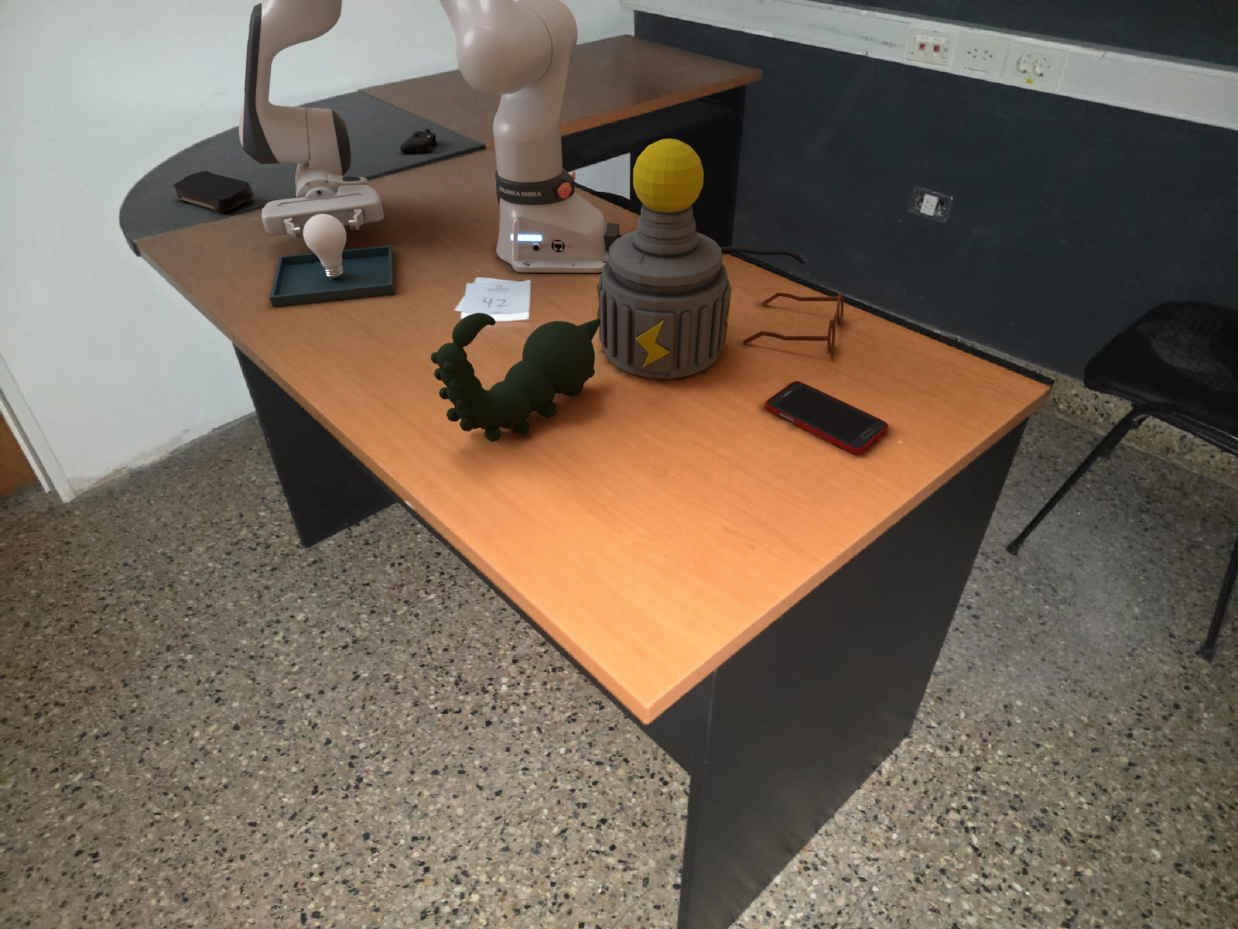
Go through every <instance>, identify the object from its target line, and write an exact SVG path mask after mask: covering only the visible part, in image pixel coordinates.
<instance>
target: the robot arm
mask: <svg viewBox="0 0 1238 929" xmlns="http://www.w3.org/2000/svg"><path fill="white" fill-rule="evenodd" d="M438 2H439V3H440V5H441V7H442V9H443V10H444V12H445V15H446V16H447V19H448V21H449V23H450V25H451V28H452V30H453V33H454V36H455V40H456V47H455V56H456V63H457V67H458V70H459V73H460V74H461V76H462V78H463V79H464V81H465V82H466V83H467V84H468V86H469V87H470V88H471V89H473V90H474V91H475V92H477V93H479V94H481V95H483V96H493V97H494V96H500V101H499V104H498V108H497V110H496V114H495V116H494V118H493V123H492V133H493V135H492V136H493V143H494V153H495V162H496V170H495V171H494V172H495V173H494V178H495V180H494V184H495V194H496V199H497V203H498V205H499V224H498V225H499V227H498V235H497V236H498V237H497V244H496V248H495V252H496V255H497V256H498V258H500V259H501V260H502V261H505V263H508V264H509V265H510V266H511V267H512V269H513V270H514V271H515V272H518V273H550V274H551V273H557V274H559V273H560V274H562V273H563V274H566V273H567V274H569V273H570V274H571V273H572V274H576V273H577V274H598V273H599V274H600V273H602V271H603V266H604V265H605V263H606V262H607V261H608V260H609V248H610V246H611V245H612V244H613V243H614V241H615V240H616V239H618V238H620V237H622V236H623V235H624V234H620V223H619V222H618V223H616V222H612V223H611V222H607V219H606V216H605V215H604V213H603V211H602V210H601V209H599V208H598V207H597V206H595V205H594V204H592V203H591V202H589V201H588V200H587V199H586V198H584V197H583V196H581V195H580V194H579V193H577V192H576V190H575V181H576V179H577V178H576V171H573V172H572V173H571V174H570V173H569V172H568V171H567V170H566V169H565V167H563V151H562V115H563V114H562V113H563V105H564V99H565V91H566V85H567V79H568V74H569V73H568V72H569V67H570V62H571V59H572V56H573V53H574V51H575V49H576V46H577V43H578V36H579V34H578V33H579V32H578V31H579V30H578V25H577V22H576V18H575V16H574V14H573V12H572V11H571V9H570V8H569V7H568V5H566V4H565V3H564V2H563V1H561V0H518V1H514V0H438ZM342 6H343V0H262V2H259V3H257V4H255V5H254V6H253V8H252V11H251V14H250V17H249V24H248V36H247V42H246V43H247V45H246V53H245V55H246V57H245V72H244V89H243V91H244V94H243V95H244V97H243V105H242V110H241V113H240V117H239V122H238V136H239V142H240V144H241V147H242V150H243V151H244V153H246V155H248V156H249V157H250V158H252V159H253V160H254V161H256V162H257V163H258V164H260V165H271V164H272V165H273V164H274V165H277V164H278V165H279V164H297V165H296V170H295V175H294V185H295V197H292V198H284V199H276V200H272V201H269V202H267V203H266V204H265V205H264V207H263V208H261V216H260V217H261V222H262V224H263V228H264V231H265V233H266V234H267V235H270V236H280V235H287V234H288V235H290V236H292V238H293V239H300V238H304V236H303V230H304V226H305V224H306V222H307V221H308V220H309V219H310V218H311V217H313V216H315V215H318V214H327V215H331V216H333V217H335V218H336V219H338V220H339V221H340V222H341V223H342V225H343V227H347V226H349V228H350V232H351V231H352V232H353V231H359V230H360V226H362V225H363V224H368V223H377V222H381V221H383V220H384V219H385V214H384V210H383V205H382V201H381V197H380V195H379V193H378V192H377V191H376V189H375V188H374V187H373V186H372V185H370V184H369V182H368V179H367V178H366V177H364V176H348V175H347V176H346V174H347V173H348V171H349V169H350V168H351V165H352V164H351V163H352V150H351V143H350V136H349V134H348V128H347V125H346V122H345V121H344V120H343V118H342V117H341V116H340V114H338V113H337V112H336V110H334V109H332V108H331V109H330V108H322V107H310V106H306V107H303V106H302V107H301V106H289V105H277V104H273V103H272V102H270V88H271V87H270V86H271V75H272V66H273V65H272V64H273V61H274V59H275V57H276V56H277V55H278V54H279V53H280V52H282V51H283V50H285V49H288V48H290V47H292V46H296V45H299V44H303V43H306V42H309V41H313V40H316V39H318V38H320V37H323V36H324V35H325V34H327V33H329V32H330V31H331V30H332V29H333V28H334V27H335V26H336V25H337V24H338V22H339V20H340V18H341V16H342V8H343V7H342ZM719 247H720V248H721V251H722V253H724V252H725V253H727V252H731V253H732V252H733V253H743V254H744V253H745V254H751V255H760V256H761V255H762V256H775V255H777V256H779V255H783V256H789V257H791V258H793V259H795V260H796V261H797V262H798V263H799V264H803V265H805V264H807V261H806V260H805V259H804V258H803V257H802V256H801V255H800V254H798V253H797V252H795V251H792V250H788V249H759V248H751V247H743V246H719Z"/></svg>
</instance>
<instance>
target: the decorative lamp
mask: <svg viewBox="0 0 1238 929" xmlns="http://www.w3.org/2000/svg"><path fill="white" fill-rule="evenodd" d="M632 171H633V172H632V173H633V174H632V176H633V177H632V180H633V181H632V186H633V189H634V191H635V194H636V197H637V198H638V199H639V201H640V202H641V203H642V205H641V209H640V215H639V216H638V219H637V223H636V229H635V230H634V231H631V232H627V233H625V234H622V235H623V236H622V237H620V238H618V239H616V240H615V241H614V243H613V244H612V245H611V246H610V248H609V260H608V261H607V262H606V263H605V265H604V266H603V271H602V272H601V274H600V275H599V277H598V284H596V290H597V291H596V292H597V301H598V305H597V311H596V315H595V316H596V317H595V319H600V320H601V323H600V325H599V327H598V333H599V335H598V337H599V341H600V343H601V346H602V350H603V352H604V353H605V356H606V357H607V360H608V361H610V362H611V363H612V364H614V365H615V366H616V367H617V368H619V369H620V370H622V371H625V372H627V373H629V374H632V375H634V376H637V377H642V378H646V379H647V378H648V379H653V380H674V379H680V378H685V377H690V376H692V375H695V374H698V373H700V372H702V371H704V370H706V369H708V368H709V367H710V366H712V364H714V363H715V362H716V361H717V360H718V358H719V355H720V353H721V352H722V351H723V349H724V347H726V345H727V339H728V331H729V322H730V310H731V300H732V292H733V287H732V286H731V283H730V280H729V279H728V278H729V277H728V272H727V271H728V270H727V267H726V266H725V264H724V263H723V252H722V251H721V248H720V247H721V246H720V245H719V244H718V243H717V242H716V241H715V240H714V239H712V238H710V237H709V236H707V235H705V234H703V233H700V232H698V231H697V230H696V229H697V225H696V220H695V217H694V210H693V204H694V203H695V202H696V201H697V199H698V198H699V196H700V194H701V191H702V190H703V187H704V175H705V173H704V168H703V164H702V160H701V158H700V156H699V155H698V154H697V152H696V151H695V150H694V149H693V148H692V146H691V145H689V144H687V143H685V142H683V141H681V140H679V139H675V138H662V139H660V140H658V141H654V142H653V143H651V144H649V145H647V146H646V147H645V148H644V150H643V151H642V152H641V153H640V154H639V155H638V156H637V159H636V161H635V164H634V166H633V170H632Z"/></svg>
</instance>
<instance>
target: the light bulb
mask: <svg viewBox="0 0 1238 929" xmlns="http://www.w3.org/2000/svg"><path fill="white" fill-rule="evenodd" d="M302 235H303V240H304V243H305V244H306V246H307V247H308V249H309V250H311V252H312V253H315V254H316V255H317V256H318V258H319V259H320V261H321V264H322V265H323V266H324V267H325V268H324V270H325V273H326V275H327V277H329V278H333V279H336V278H339V277H341V276H342V275H343V267H342V252H343V250H344V248H345V245H346V242H347V231H346V228H345V226H343V225H342V223H341V222H340V221H339V220H338V219H336V218H335V217H333V216H331V215H327V214H318V215H315V216H313V217H311V218H310V219H309V220H308V221H307V222H306V224H305V226H304V230H303V232H302Z"/></svg>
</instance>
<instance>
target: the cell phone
mask: <svg viewBox="0 0 1238 929" xmlns="http://www.w3.org/2000/svg"><path fill="white" fill-rule="evenodd" d="M764 408H765V409H766V410H767V411H769V412H770V413H773V414H774V415H777V416H779V417H781V418H783V419H785V420H787V421H789V422H791V423H793V424H794V425H795V426H798V427H800V428H802V429H804V430H806V431H807V432H810V433H812V434H813V435H816V436H818V437H819V438H822V439H823V440H825V441H828V442H830V443H831V444H833V445H835V446H837V447H839V448H841V449H844V450H845V451H847V452H850V453H852V454H853V455H854V454H855V455H861V454H862V453H864V452H865V451H866V450H867V448H869V447H870V446H872V443H873V442H875V441H877V440H879V439H880V438H881V437H882V436H883V435H884V434H885V433H886V432H887V431H888V430H889V423H888V422H886V421H885V420H884V419H881V418H879V417H877V416H875V415H872V414H870V413H868V412H867V411H864V410H862V409H860V408H858V407H855V406H853V405H851V404H849V403H847V402H845V401H843V400H840V399H839V398H836V397H834V396H832V395H830V394H828V393H826V392H823V391H821V390H820V389H818V388H816V387H813V386H811V385H809V384H807V383H805V382H802V381H799V380H795V381H794V380H793V381H792V382H790V383H788V384H787V385H786V386H784V387H783V388H782V389H780V390H779V391H778V392H776V393H775V394H773V395H772V396H771V397H769V398H768V399H766V400H765V403H764Z"/></svg>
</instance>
